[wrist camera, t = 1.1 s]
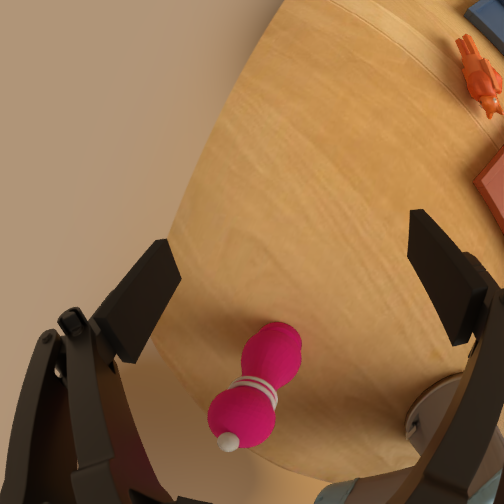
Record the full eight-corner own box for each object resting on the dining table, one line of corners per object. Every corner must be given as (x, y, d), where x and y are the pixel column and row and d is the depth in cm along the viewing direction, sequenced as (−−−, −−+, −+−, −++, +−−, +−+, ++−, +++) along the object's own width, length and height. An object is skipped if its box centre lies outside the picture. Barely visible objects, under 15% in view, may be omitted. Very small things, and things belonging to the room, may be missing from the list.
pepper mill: (316, 338, 35) (288, 452, 16) (286, 373, 37) (241, 483, 18) (270, 308, 36) (203, 401, 17) (244, 345, 38) (171, 441, 19)
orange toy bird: (460, 25, 17) (494, 108, 19) (492, 41, 17) (522, 118, 19) (440, 40, 22) (468, 117, 24) (473, 53, 22) (498, 125, 24)
